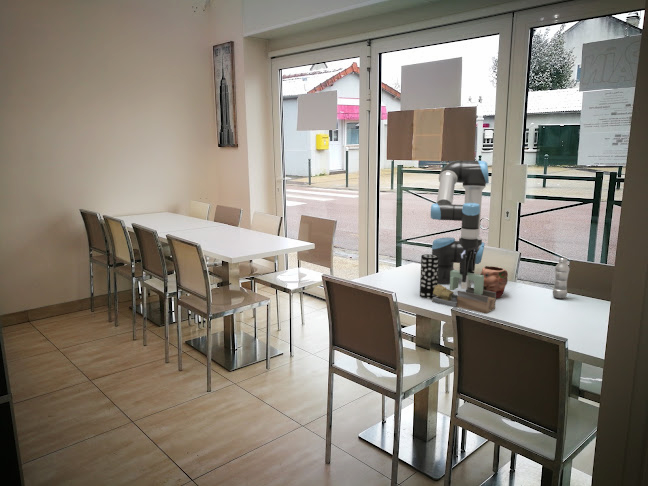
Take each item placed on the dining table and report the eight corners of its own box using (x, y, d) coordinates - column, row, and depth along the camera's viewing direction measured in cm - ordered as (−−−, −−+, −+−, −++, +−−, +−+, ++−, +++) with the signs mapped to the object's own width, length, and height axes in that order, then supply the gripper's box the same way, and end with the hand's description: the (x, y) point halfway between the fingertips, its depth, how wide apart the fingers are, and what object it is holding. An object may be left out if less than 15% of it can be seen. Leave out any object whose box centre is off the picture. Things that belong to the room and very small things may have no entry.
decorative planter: (493, 288, 264) (495, 262, 262) (515, 294, 255) (517, 267, 253) (470, 296, 252) (472, 268, 249) (492, 302, 243) (495, 273, 240)
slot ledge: (466, 301, 243) (467, 286, 241) (494, 308, 234) (496, 292, 232) (456, 306, 235) (457, 291, 234) (486, 313, 226) (487, 297, 225)
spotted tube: (437, 299, 247) (439, 258, 243) (419, 298, 248) (421, 257, 244) (436, 294, 255) (438, 254, 251) (419, 293, 256) (421, 253, 252)
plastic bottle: (566, 297, 251) (570, 257, 247) (566, 300, 245) (570, 260, 241) (552, 295, 254) (556, 255, 250) (551, 299, 248) (555, 258, 244)
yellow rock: (443, 295, 247) (436, 291, 249) (446, 287, 245) (439, 284, 247) (439, 297, 244) (432, 293, 246) (442, 289, 242) (434, 286, 244)
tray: (444, 296, 251) (444, 292, 251) (467, 301, 243) (467, 297, 243) (432, 301, 242) (432, 297, 242) (455, 307, 235) (455, 303, 234)
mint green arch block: (454, 286, 244) (455, 269, 242) (484, 292, 234) (485, 274, 232) (447, 289, 239) (448, 271, 238) (478, 295, 230) (479, 277, 228)
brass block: (453, 292, 243) (451, 299, 244) (446, 288, 245) (443, 295, 247) (449, 293, 240) (447, 301, 241) (442, 290, 242) (439, 297, 244)
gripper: (469, 234, 240) (466, 282, 245) (453, 239, 228) (450, 289, 233) (484, 236, 235) (481, 285, 240) (469, 241, 223) (465, 293, 228)
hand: (466, 287), depth 236 cm, fingers closed on mint green arch block, 3 cm apart
